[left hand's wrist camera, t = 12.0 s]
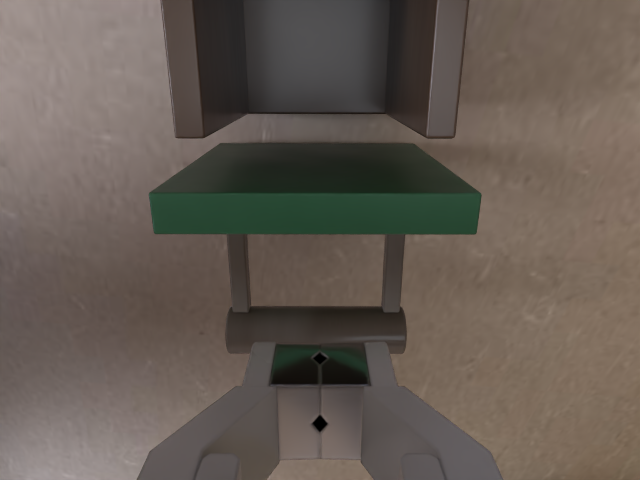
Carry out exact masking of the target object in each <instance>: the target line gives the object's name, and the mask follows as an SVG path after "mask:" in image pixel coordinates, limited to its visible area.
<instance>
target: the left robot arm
mask: <svg viewBox="0 0 640 480" xmlns="http://www.w3.org/2000/svg"><path fill="white" fill-rule="evenodd" d="M300 459H339V460H361V463H362V464H363V466H364V467H365V468H366V470H367V471H368V472H369V474H370V475H371V476H372V478H373V479H374V480H503V478H502V476H501V474H500V471H499V469H498V467H497V465H496V463H495V460H494V458H493V456H492V454H491V452H490V451H489V450H487V449H486V448H485V447H484V446H482V445H481V444H480V443H478V442H477V441H476V440H474V439H473V438H472V437H470V436H469V435H468V434H466V433H465V432H464V431H462V430H461V429H460V428H459V427H457V426H456V425H455V424H453V423H452V422H451V421H449V420H448V419H447V418H445V417H444V416H443V415H441V414H440V413H439V412H437V411H436V410H435V409H434V408H432V407H431V406H430V405H428V404H427V403H426V402H424V401H423V400H422V399H420V398H419V397H418V396H416V395H415V394H414V393H412V392H411V391H410V390H409V389H407V388H406V387H404V386H398V384H397V380H396V377H395V373H394V369H393V365H392V361H391V357H390V353H389V349H388V345H387V343H386V342H364V343H328V344H320V343H297V342H277V343H276V342H255V343H254V344H253V345H252V349H251V353H250V357H249V361H248V365H247V369H246V372H245V376H244V380H243V384H242V386H236V387H234V388H233V389H231V390H230V391H229V392H228V393H226V394H225V395H224V396H222V397H221V398H220V399H218V400H217V401H216V402H214V403H213V404H212V405H210V406H209V407H208V408H206V409H205V410H204V411H202V412H201V413H200V414H198V415H197V416H196V417H194V418H193V419H192V420H191V421H189V422H188V423H187V424H185V425H184V426H183V427H181V428H180V429H179V430H177V431H176V432H175V433H173V434H172V435H171V436H169V437H168V438H167V439H165V440H164V441H163V442H161V443H160V444H159V445H157V446H156V447H155V448H153V449H152V450H151V451H150V452H149V454H148V456H147V459H146V461H145V463H144V465H143V467H142V470H141V472H140V474H139V476H138V478H137V480H266V479H267V478H268V477H269V475H270V474H271V473H272V471H273V470H274V469H275V468H276V466H277V465H278V464H279V460H300Z"/></svg>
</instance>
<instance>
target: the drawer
mask: <svg viewBox="0 0 640 480" xmlns="http://www.w3.org/2000/svg"><path fill="white" fill-rule="evenodd" d="M468 7H469V0H161V9H162V18H163V28H164V37H165V47H166V56H167V65H168V75H169V84H170V93H171V103H172V112H173V121H174V131H175V137H176V138H205V137H207V136H209V135H210V134H212V133H214V132H216V131H218V130H219V129H221V128H223V127H225V126H227V125H228V124H230V123H232V122H234V121H236V120H237V119H239V118H241V117H243V116H245V115H247V114H387V115H389V116H390V117H392V118H394V119H395V120H397V121H399V122H400V123H402V124H404V125H405V126H407V127H409V128H411V129H412V130H414V131H416V132H417V133H419V134H421V135H422V136H424V137H426V138H428V139H452V138H454V137H455V133H456V123H457V114H458V104H459V94H460V85H461V75H462V65H463V56H464V46H465V36H466V26H467V17H468ZM149 199H150V207H151V214H152V222H153V229H154V233H155V234H227V242H228V256H229V269H230V283H231V296H232V307H230V309H229V311H228V314H227V320H226V347H227V350H228V352H229V353H231V354H250V353H251V349H252V345H253V344H254V343H255V342H276V343H277V342H297V343H320V344H328V343H364V342H386V343H387V345H388V349H389V353H390V354H402V353H404V351H405V347H406V337H407V331H406V319H405V313H404V310H403V308H402V307H400V299H401V285H402V271H403V257H404V243H405V234H476V233H477V226H478V219H479V211H480V203H481V193H480V192H479V191H477V190H476V189H474V188H473V187H472V186H470V185H469V184H468V183H466V182H465V181H464V180H462V179H461V178H460V177H458V176H457V175H455V174H454V173H453V172H451V171H450V170H449V169H447V168H446V167H445V166H443V165H442V164H441V163H439V162H438V161H436V160H435V159H434V158H432V157H431V156H430V155H428V154H427V153H426V152H424V151H423V150H422V149H420V148H419V147H417V146H416V145H415V144H325V143H220V144H219V145H217V146H216V147H214V148H213V149H212V150H210V151H209V152H207V153H206V154H204V155H203V156H201V157H200V158H199V159H197V160H196V161H194V162H193V163H191V164H190V165H189V166H187V167H186V168H184V169H183V170H181V171H180V172H179V173H177V174H176V175H174V176H173V177H171V178H170V179H169V180H167V181H166V182H164V183H163V184H161V185H160V186H159V187H157V188H156V189H154V190H153V191H151V192H150V193H149ZM247 234H385V247H384V266H383V284H382V302H381V305H382V306H251V295H250V277H249V260H248V242H247Z"/></svg>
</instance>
